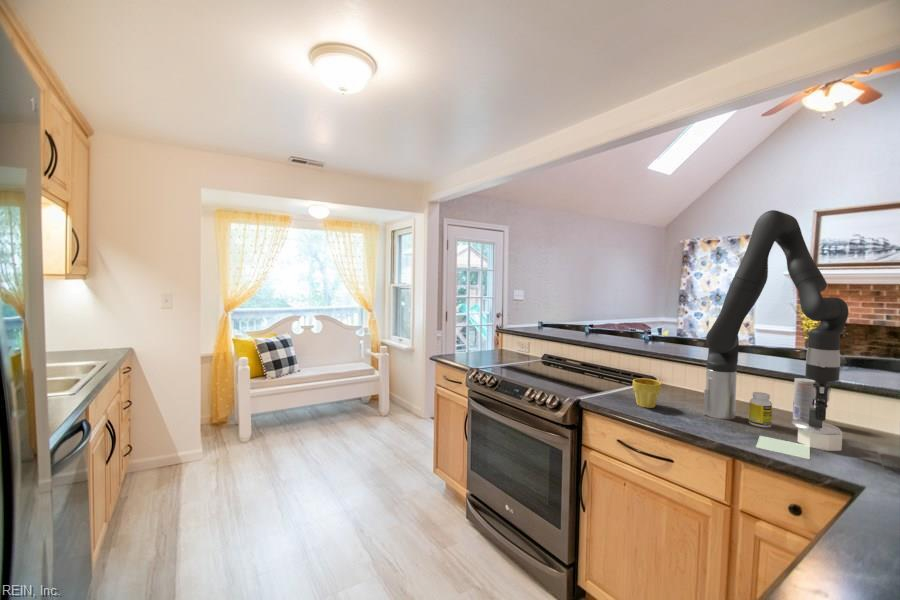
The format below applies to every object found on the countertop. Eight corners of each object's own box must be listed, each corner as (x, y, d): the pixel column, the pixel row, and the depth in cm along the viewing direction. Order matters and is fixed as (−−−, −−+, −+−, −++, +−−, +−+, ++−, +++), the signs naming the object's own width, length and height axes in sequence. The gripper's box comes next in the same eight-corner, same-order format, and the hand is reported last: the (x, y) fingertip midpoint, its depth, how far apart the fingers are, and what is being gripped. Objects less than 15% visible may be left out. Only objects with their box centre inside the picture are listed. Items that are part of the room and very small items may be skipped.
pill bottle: (765, 429, 135) (766, 397, 135) (745, 423, 141) (746, 392, 140) (775, 426, 138) (776, 394, 137) (754, 420, 143) (755, 390, 143)
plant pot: (664, 410, 155) (665, 385, 155) (636, 408, 157) (636, 384, 156) (655, 402, 165) (656, 378, 165) (629, 401, 167) (629, 377, 167)
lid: (790, 428, 123) (791, 409, 122) (792, 419, 131) (793, 401, 130) (841, 438, 115) (842, 418, 115) (839, 427, 123) (840, 408, 123)
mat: (755, 448, 120) (755, 447, 120) (759, 436, 129) (759, 435, 129) (809, 460, 112) (809, 459, 112) (809, 447, 121) (810, 445, 121)
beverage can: (817, 424, 140) (819, 381, 139) (799, 423, 141) (800, 381, 140) (806, 419, 145) (808, 378, 144) (789, 418, 146) (790, 377, 146)
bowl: (797, 445, 122) (797, 429, 122) (798, 436, 129) (798, 420, 129) (842, 454, 116) (842, 437, 115) (840, 444, 123) (841, 428, 123)
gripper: (806, 358, 129) (804, 408, 130) (805, 365, 119) (803, 419, 119) (838, 361, 124) (836, 413, 125) (841, 369, 113) (838, 425, 114)
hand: (820, 416), depth 122 cm, fingers open, 8 cm apart
